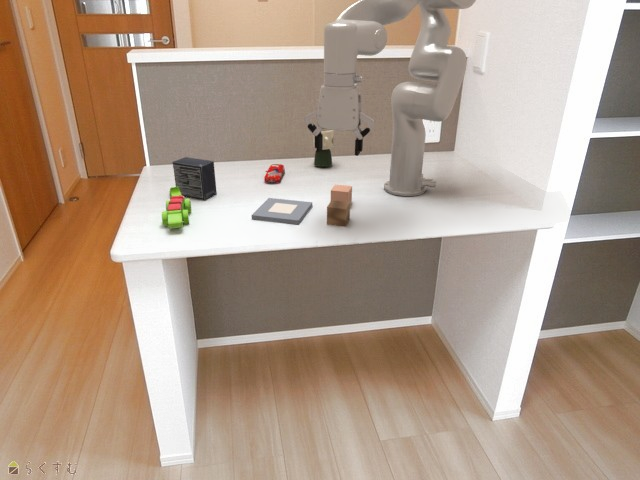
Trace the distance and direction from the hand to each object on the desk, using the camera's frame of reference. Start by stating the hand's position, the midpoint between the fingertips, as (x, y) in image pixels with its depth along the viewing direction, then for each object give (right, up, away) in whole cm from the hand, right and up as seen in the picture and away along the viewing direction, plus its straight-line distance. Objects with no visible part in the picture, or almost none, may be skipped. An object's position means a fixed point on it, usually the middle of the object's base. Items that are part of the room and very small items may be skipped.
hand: (338, 152), depth 122 cm
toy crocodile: (-42, -16, +10) cm, 46 cm away
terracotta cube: (+2, -12, +19) cm, 22 cm away
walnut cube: (0, -17, +8) cm, 19 cm away
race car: (-19, -2, +40) cm, 44 cm away
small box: (-41, -8, +25) cm, 49 cm away
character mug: (-3, +4, +51) cm, 51 cm away
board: (-15, -14, +13) cm, 24 cm away
